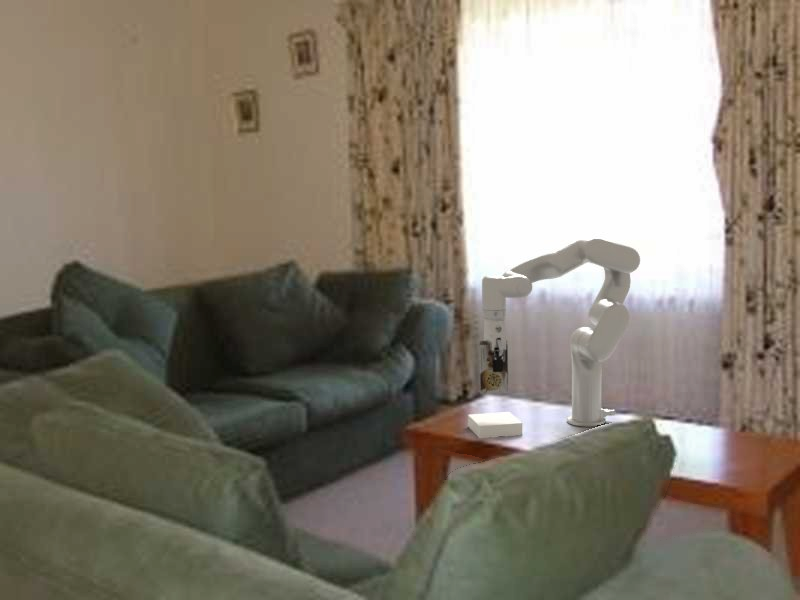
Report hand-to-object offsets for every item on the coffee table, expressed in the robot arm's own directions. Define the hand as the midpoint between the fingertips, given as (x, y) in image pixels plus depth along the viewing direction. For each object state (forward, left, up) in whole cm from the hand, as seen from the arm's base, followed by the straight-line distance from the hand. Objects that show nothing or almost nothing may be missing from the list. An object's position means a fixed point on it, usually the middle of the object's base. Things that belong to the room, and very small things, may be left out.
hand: (494, 368), depth 308 cm
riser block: (0, 0, -20) cm, 20 cm away
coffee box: (0, 0, -8) cm, 8 cm away
